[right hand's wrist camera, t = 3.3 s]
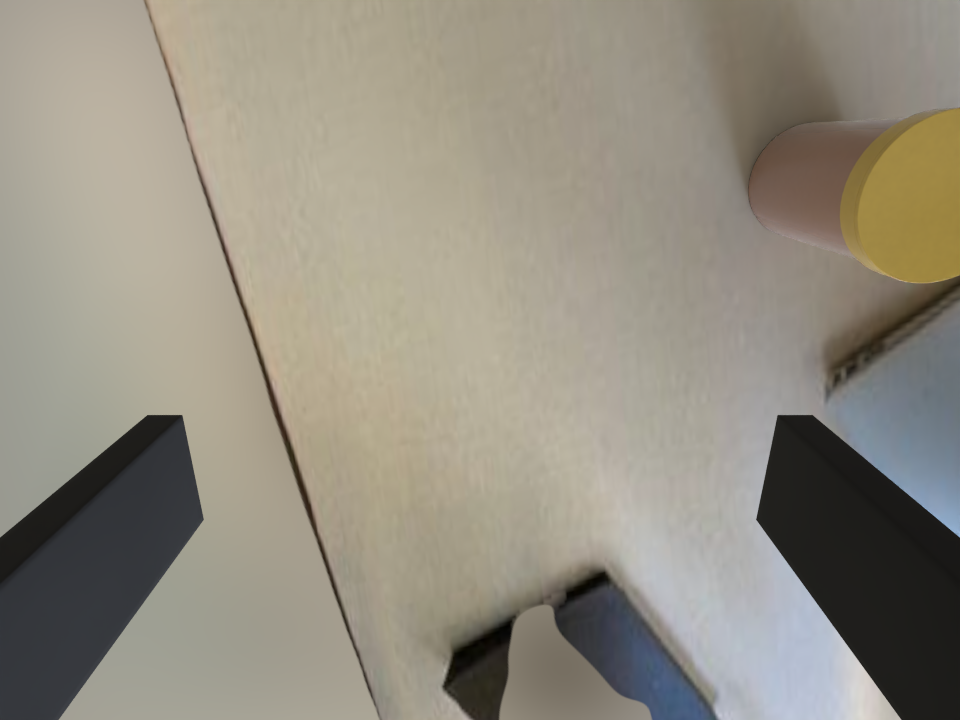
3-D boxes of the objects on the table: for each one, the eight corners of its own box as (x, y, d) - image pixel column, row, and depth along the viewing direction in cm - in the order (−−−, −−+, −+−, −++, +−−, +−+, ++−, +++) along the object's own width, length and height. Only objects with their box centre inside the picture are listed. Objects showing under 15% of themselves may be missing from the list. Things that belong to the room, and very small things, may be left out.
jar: (851, 104, 48) (1017, 88, 33) (866, 213, 51) (1024, 243, 36) (738, 148, 49) (849, 152, 34) (760, 252, 52) (870, 296, 37)
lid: (1002, 80, 34) (1031, 77, 32) (1012, 243, 37) (1038, 248, 36) (827, 147, 35) (845, 148, 34) (851, 298, 39) (869, 306, 37)
